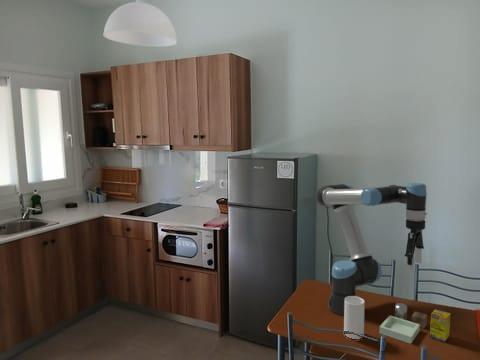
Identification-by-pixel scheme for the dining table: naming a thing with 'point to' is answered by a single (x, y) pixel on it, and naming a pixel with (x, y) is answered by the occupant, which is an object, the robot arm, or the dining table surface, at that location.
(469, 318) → the dining table surface
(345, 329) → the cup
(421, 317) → the walnut block
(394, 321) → the tray
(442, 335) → the supplement box
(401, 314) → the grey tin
